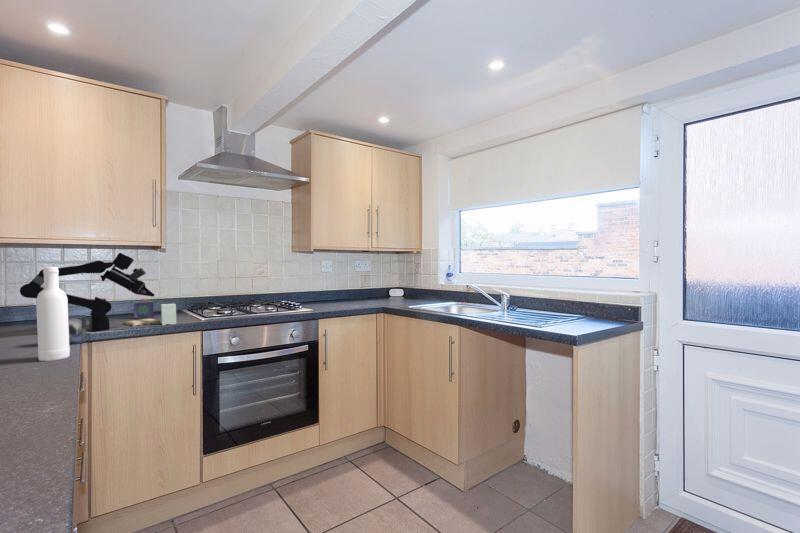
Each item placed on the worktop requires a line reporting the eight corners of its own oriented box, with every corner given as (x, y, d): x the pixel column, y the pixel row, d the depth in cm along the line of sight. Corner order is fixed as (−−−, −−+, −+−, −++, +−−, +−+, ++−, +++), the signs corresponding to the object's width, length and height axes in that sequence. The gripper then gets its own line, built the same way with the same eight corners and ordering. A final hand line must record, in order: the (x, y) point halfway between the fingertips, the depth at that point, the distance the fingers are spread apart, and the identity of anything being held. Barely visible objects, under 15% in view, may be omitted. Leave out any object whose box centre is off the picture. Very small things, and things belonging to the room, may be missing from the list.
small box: (47, 346, 151) (46, 318, 151) (54, 343, 157) (53, 316, 157) (82, 343, 156) (81, 316, 155) (87, 340, 162) (86, 314, 161)
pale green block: (162, 325, 196) (161, 305, 196) (161, 323, 202) (160, 304, 201) (176, 323, 200) (175, 304, 199) (175, 322, 205) (174, 303, 205)
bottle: (31, 361, 129) (27, 267, 128) (52, 355, 137) (48, 266, 136) (56, 361, 129) (52, 267, 128) (76, 355, 137) (72, 266, 136)
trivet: (133, 326, 194) (133, 323, 194) (122, 324, 201) (122, 321, 201) (160, 322, 204) (160, 320, 204) (149, 320, 211) (149, 318, 211)
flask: (133, 319, 218) (133, 299, 218) (135, 318, 221) (134, 298, 220) (153, 318, 221) (152, 298, 221) (154, 317, 224) (154, 297, 223)
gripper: (133, 263, 185) (166, 281, 193) (129, 263, 200) (159, 280, 208) (117, 284, 182) (151, 302, 190) (114, 282, 196) (146, 299, 204)
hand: (152, 295), depth 198 cm, fingers open, 9 cm apart
